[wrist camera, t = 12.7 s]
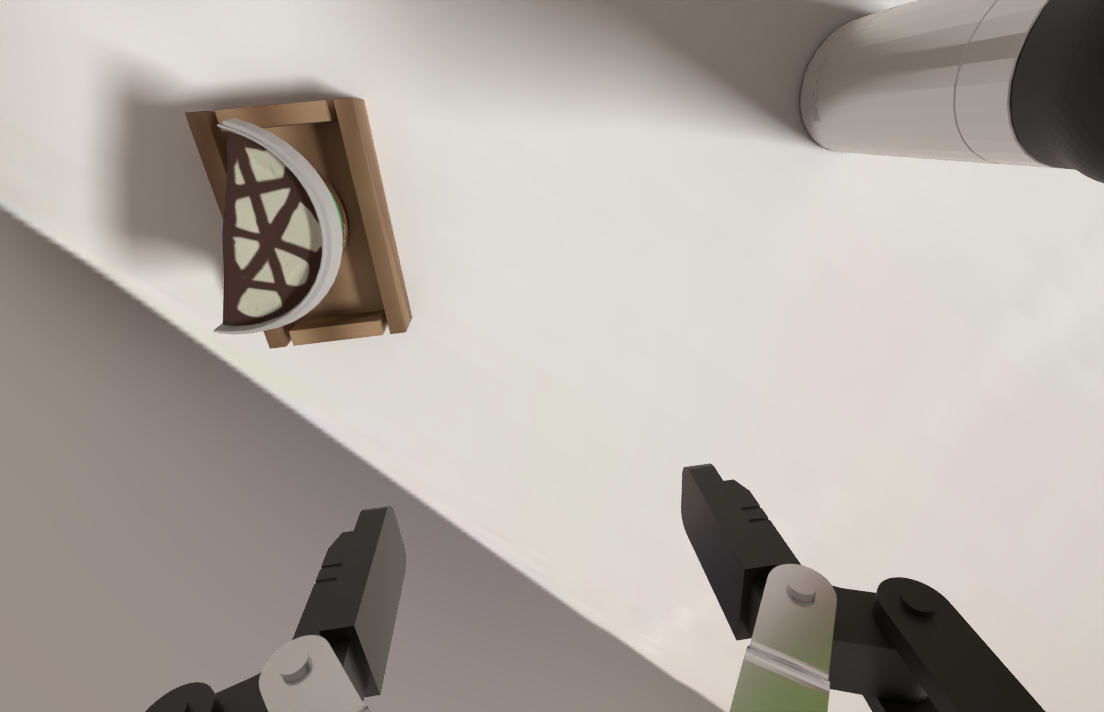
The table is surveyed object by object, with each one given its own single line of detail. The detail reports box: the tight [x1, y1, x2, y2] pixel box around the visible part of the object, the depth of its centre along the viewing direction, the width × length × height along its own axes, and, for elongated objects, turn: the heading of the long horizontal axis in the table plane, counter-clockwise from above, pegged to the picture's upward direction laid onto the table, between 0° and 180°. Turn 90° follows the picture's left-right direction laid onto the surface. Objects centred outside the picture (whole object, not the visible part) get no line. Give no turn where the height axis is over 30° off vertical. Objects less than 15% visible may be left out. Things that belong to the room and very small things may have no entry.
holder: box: [185, 98, 412, 348], centre depth 37 cm, size 10×16×3 cm, turn 5°
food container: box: [213, 118, 349, 334], centre depth 33 cm, size 12×6×10 cm, turn 167°
